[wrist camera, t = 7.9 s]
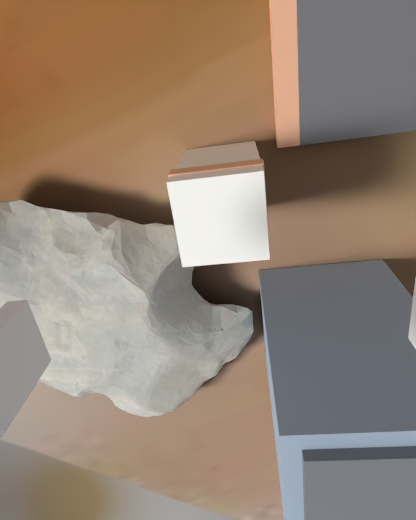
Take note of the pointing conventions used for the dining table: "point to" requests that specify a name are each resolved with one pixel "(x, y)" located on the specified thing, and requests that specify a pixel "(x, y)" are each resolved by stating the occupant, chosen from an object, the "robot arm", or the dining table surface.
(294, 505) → the box
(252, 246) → the cartridge
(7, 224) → the rock
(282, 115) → the mat
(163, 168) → the dining table surface
